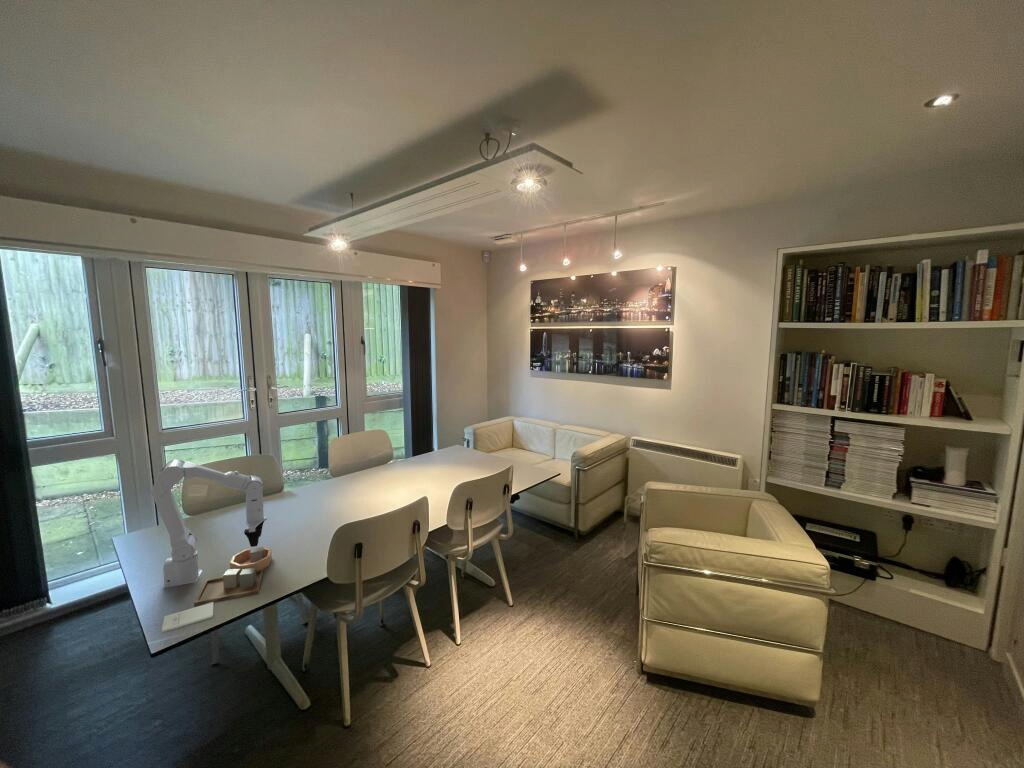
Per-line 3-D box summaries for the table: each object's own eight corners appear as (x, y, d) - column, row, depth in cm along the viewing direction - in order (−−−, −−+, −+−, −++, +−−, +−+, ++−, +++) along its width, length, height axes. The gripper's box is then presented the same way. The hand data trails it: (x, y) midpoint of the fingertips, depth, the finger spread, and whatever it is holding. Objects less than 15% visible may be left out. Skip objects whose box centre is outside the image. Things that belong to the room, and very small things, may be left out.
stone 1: (223, 588, 142) (222, 575, 141) (228, 582, 145) (227, 569, 144) (236, 587, 142) (235, 574, 142) (240, 581, 146) (240, 568, 145)
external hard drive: (213, 620, 127) (161, 636, 120) (213, 605, 134) (164, 619, 127) (213, 615, 127) (161, 631, 120) (213, 601, 134) (164, 615, 127)
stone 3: (250, 564, 156) (249, 552, 156) (252, 560, 159) (251, 548, 159) (262, 562, 158) (261, 550, 157) (263, 558, 161) (263, 546, 160)
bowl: (228, 578, 148) (227, 568, 148) (235, 560, 160) (235, 550, 159) (268, 571, 153) (268, 561, 153) (272, 554, 165) (272, 545, 165)
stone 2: (240, 588, 142) (239, 574, 142) (243, 582, 145) (242, 569, 145) (253, 586, 143) (252, 573, 143) (255, 580, 147) (255, 567, 146)
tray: (194, 606, 133) (193, 602, 132) (205, 583, 145) (205, 579, 145) (257, 594, 140) (257, 590, 140) (263, 572, 152) (263, 569, 152)
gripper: (263, 514, 151) (264, 548, 153) (269, 499, 164) (270, 531, 166) (241, 517, 148) (242, 552, 150) (248, 502, 161) (250, 534, 163)
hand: (255, 541), depth 157 cm, fingers open, 7 cm apart
